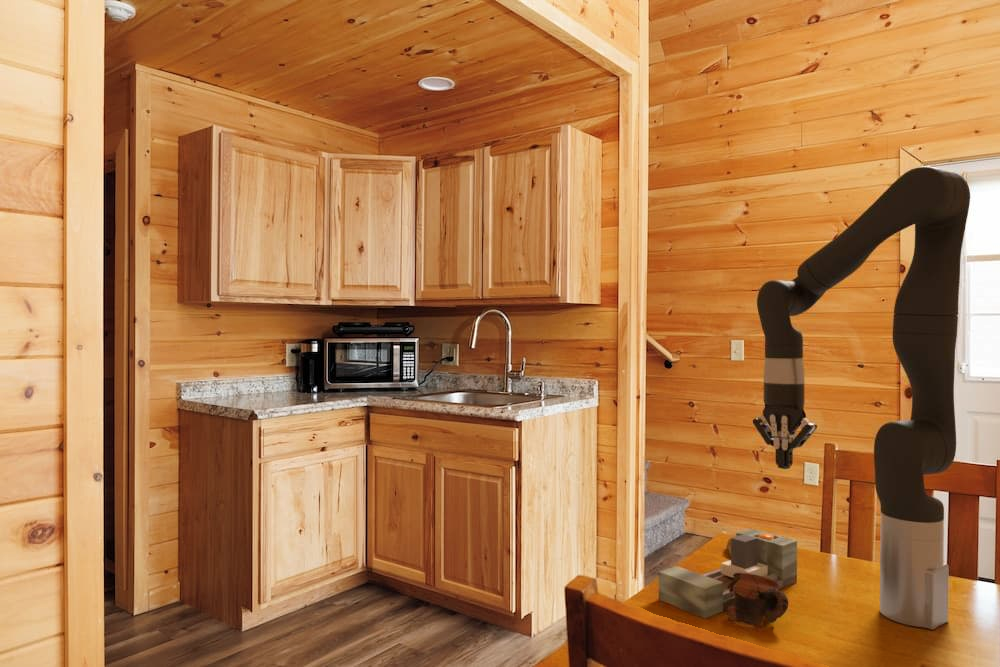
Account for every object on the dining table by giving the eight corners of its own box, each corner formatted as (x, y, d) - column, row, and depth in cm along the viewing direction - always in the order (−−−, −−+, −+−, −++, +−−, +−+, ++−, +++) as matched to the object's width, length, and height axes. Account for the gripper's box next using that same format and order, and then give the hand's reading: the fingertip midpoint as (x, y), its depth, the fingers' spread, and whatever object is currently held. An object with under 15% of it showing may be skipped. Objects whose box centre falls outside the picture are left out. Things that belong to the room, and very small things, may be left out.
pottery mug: (710, 617, 117) (717, 568, 121) (748, 633, 120) (754, 585, 124) (767, 624, 107) (773, 571, 111) (808, 642, 110) (812, 589, 114)
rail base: (796, 582, 132) (797, 540, 132) (704, 618, 115) (704, 570, 115) (750, 567, 140) (751, 528, 140) (658, 599, 123) (658, 554, 123)
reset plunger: (776, 566, 134) (776, 536, 134) (768, 569, 132) (768, 538, 132) (763, 562, 136) (763, 532, 136) (755, 565, 135) (755, 535, 135)
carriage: (767, 576, 130) (767, 539, 129) (748, 583, 126) (748, 545, 126) (739, 567, 134) (740, 531, 134) (720, 573, 131) (721, 536, 131)
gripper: (826, 382, 133) (826, 471, 133) (764, 378, 144) (764, 461, 144) (805, 383, 129) (806, 476, 129) (743, 380, 139) (743, 465, 139)
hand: (783, 468), depth 136 cm, fingers closed
